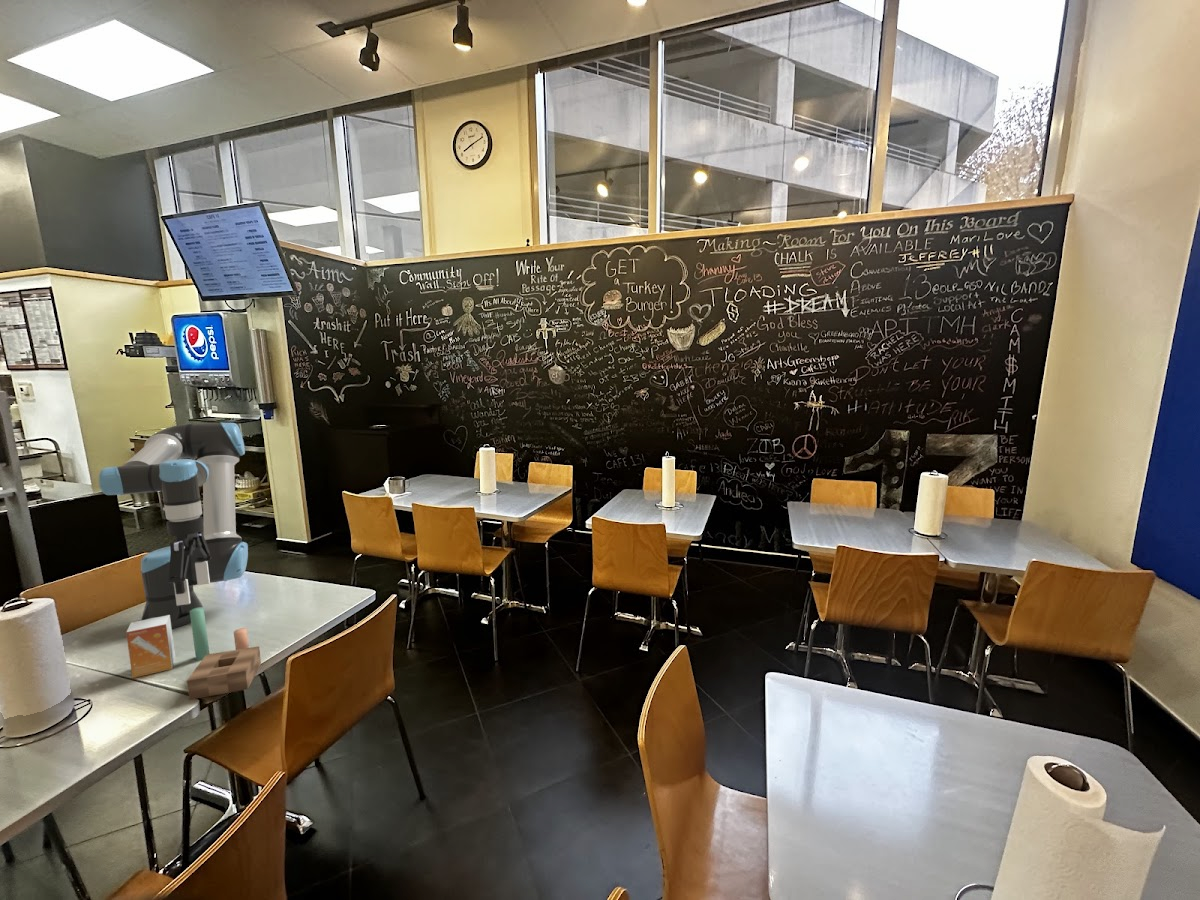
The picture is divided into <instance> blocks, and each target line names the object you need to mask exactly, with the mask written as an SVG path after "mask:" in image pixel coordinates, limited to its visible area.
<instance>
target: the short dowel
mask: <svg viewBox="0 0 1200 900" xmlns="http://www.w3.org/2000/svg"><path fill="white" fill-rule="evenodd" d="M233 637H234V646H235V650H239V649H245V648H250V645H249V637H248V629H247V628H245V627H243V628H239V629H236V630H234V631H233Z"/></svg>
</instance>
